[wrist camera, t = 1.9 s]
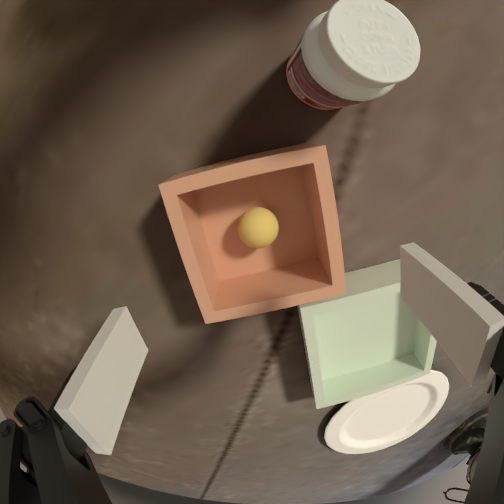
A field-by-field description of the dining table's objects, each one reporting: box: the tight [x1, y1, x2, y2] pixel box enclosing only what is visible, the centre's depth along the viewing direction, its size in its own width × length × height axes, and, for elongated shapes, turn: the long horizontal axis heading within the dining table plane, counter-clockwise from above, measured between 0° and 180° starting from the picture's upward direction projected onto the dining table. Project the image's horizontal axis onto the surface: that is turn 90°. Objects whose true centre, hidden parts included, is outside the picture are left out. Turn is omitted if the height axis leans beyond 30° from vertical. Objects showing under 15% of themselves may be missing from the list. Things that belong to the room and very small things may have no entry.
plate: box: [324, 369, 449, 454], centre depth 36 cm, size 21×21×2 cm
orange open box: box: [159, 143, 346, 324], centre depth 23 cm, size 11×11×6 cm
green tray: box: [297, 259, 437, 409], centre depth 28 cm, size 14×14×4 cm
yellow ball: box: [237, 207, 279, 248], centre depth 23 cm, size 3×3×3 cm
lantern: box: [443, 407, 489, 503], centre depth 30 cm, size 19×19×30 cm
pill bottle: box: [286, 0, 420, 110], centre depth 15 cm, size 6×6×11 cm
